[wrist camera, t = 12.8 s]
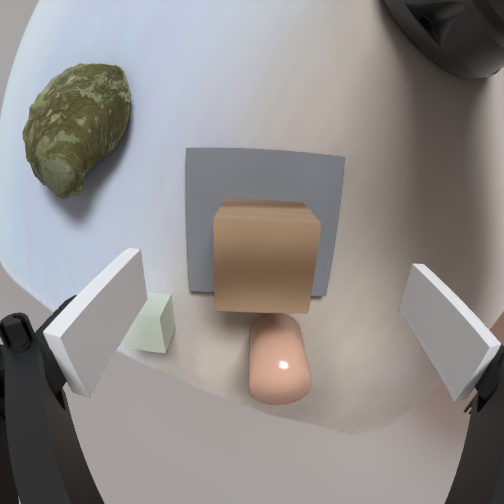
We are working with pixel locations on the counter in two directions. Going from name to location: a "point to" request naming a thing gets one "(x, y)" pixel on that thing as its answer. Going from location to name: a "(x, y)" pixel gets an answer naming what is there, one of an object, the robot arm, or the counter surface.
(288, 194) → the coaster
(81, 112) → the seashell
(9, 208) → the counter surface
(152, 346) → the sage block
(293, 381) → the pink glossy pebble
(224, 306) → the walnut cube
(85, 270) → the counter surface
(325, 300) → the counter surface
